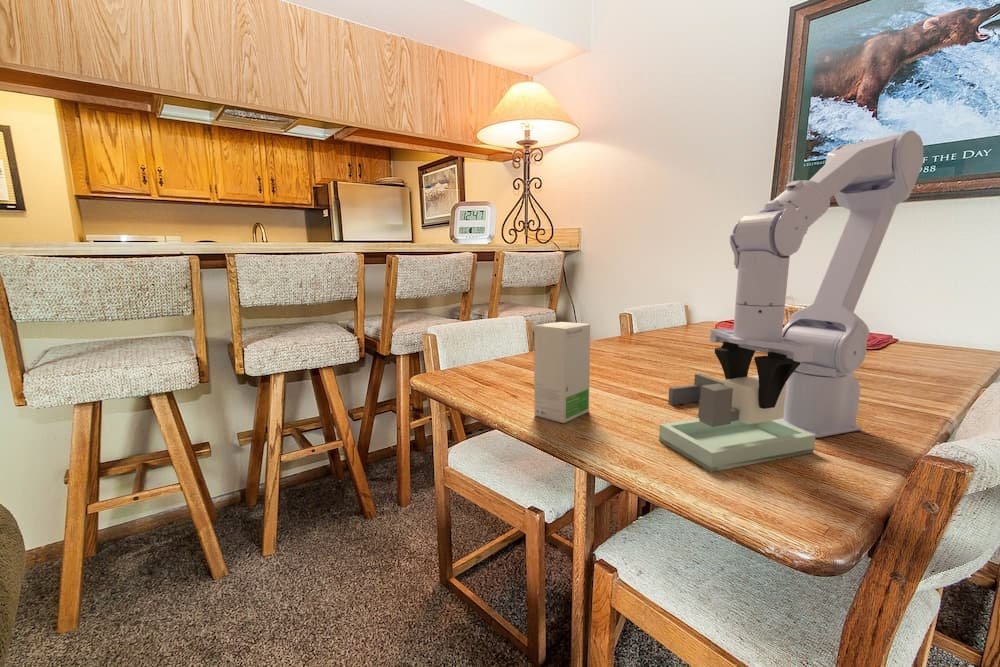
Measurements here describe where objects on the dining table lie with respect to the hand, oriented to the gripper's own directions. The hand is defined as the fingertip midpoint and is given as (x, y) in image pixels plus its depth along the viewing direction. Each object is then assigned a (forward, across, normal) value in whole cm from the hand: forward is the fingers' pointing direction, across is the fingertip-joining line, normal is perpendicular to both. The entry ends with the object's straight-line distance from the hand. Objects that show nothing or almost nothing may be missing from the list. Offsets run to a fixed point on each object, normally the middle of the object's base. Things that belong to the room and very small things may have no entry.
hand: (751, 401), depth 60 cm
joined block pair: (+2, 0, -2) cm, 3 cm away
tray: (+6, 0, -2) cm, 7 cm away
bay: (+6, -14, +4) cm, 16 cm away
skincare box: (+6, -20, -20) cm, 29 cm away
